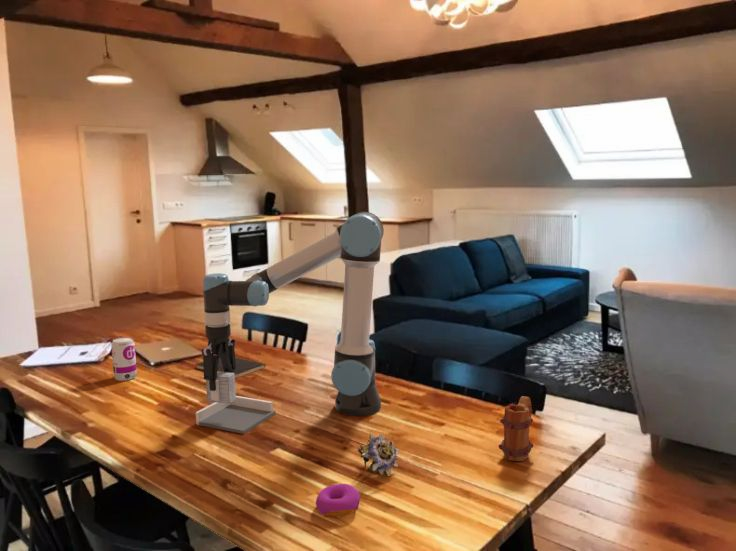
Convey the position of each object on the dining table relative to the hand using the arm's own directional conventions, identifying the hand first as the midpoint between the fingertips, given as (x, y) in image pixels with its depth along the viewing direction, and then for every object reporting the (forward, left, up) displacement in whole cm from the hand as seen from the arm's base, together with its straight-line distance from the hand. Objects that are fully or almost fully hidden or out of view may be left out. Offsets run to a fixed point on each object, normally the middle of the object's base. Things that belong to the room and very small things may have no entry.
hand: (221, 396), depth 199 cm
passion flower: (-58, +11, -8) cm, 60 cm away
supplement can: (+62, -20, -8) cm, 66 cm away
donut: (-58, +31, -8) cm, 67 cm away
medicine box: (0, 0, -2) cm, 2 cm away
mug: (-90, -13, -8) cm, 91 cm away
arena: (-3, -3, -8) cm, 9 cm away
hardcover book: (+32, -46, -9) cm, 57 cm away
